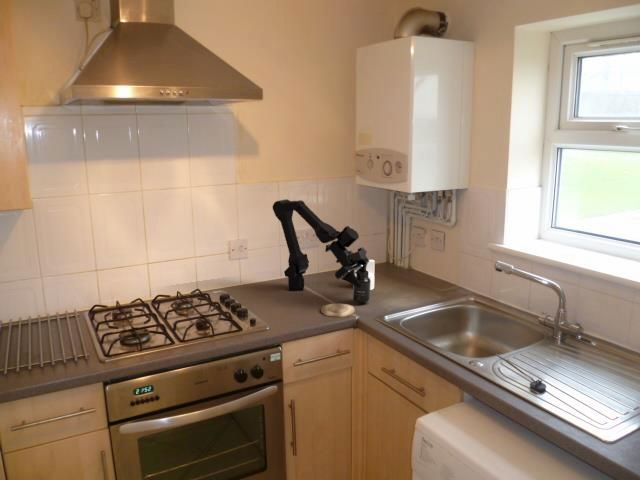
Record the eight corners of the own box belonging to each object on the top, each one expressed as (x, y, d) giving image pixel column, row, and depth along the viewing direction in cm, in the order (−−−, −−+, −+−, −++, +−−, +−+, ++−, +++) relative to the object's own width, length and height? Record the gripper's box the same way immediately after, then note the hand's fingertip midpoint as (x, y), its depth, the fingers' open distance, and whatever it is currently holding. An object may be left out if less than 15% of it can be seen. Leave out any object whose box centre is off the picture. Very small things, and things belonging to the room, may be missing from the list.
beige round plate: (323, 318, 202) (323, 315, 202) (319, 306, 214) (319, 304, 214) (357, 316, 204) (357, 314, 203) (351, 304, 216) (351, 302, 216)
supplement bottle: (357, 303, 214) (358, 274, 211) (349, 298, 220) (350, 270, 217) (373, 301, 216) (373, 272, 213) (364, 296, 222) (365, 268, 220)
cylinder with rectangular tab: (371, 283, 243) (372, 257, 240) (376, 289, 234) (376, 263, 232) (351, 284, 242) (352, 258, 239) (355, 290, 233) (356, 264, 230)
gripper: (341, 246, 207) (366, 279, 204) (365, 237, 222) (388, 268, 219) (324, 263, 213) (348, 295, 210) (348, 253, 228) (371, 283, 225)
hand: (364, 284), depth 216 cm, fingers closed on supplement bottle, 7 cm apart
